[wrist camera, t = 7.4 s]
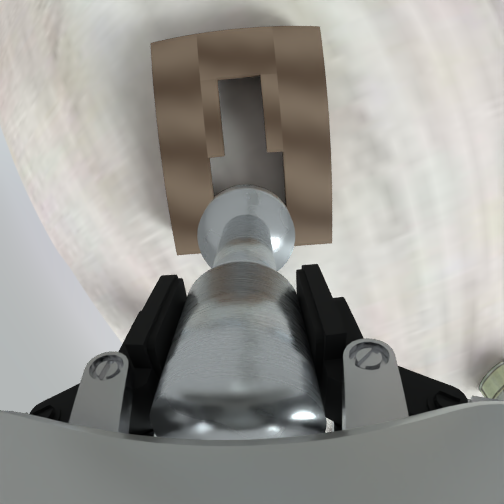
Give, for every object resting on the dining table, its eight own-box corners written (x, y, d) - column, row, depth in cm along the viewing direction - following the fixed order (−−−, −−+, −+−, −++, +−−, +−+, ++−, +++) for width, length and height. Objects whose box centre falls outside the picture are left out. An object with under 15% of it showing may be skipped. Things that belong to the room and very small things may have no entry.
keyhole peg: (195, 189, 18) (76, 342, 5) (289, 181, 18) (382, 328, 5) (207, 273, 20) (158, 475, 7) (293, 267, 20) (343, 470, 7)
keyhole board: (164, 53, 27) (150, 43, 23) (310, 39, 27) (319, 26, 22) (186, 238, 36) (177, 255, 31) (321, 227, 35) (332, 243, 31)
